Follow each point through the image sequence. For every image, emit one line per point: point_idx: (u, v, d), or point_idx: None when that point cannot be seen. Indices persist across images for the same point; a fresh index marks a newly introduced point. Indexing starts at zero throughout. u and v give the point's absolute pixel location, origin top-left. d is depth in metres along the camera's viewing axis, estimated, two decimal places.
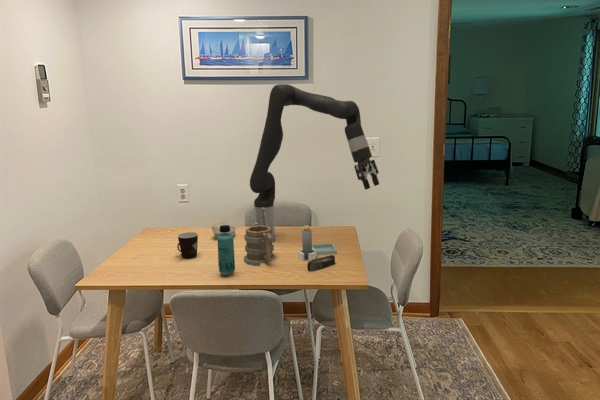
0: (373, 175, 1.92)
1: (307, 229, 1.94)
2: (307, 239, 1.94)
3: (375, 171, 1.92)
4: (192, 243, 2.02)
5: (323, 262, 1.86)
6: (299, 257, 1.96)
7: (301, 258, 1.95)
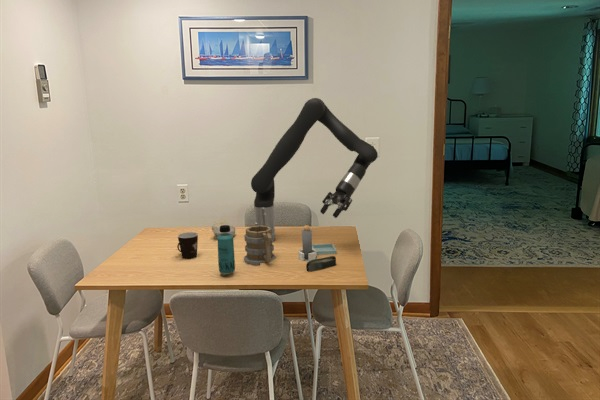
0: (327, 205, 2.05)
1: (307, 229, 1.94)
2: (307, 239, 1.94)
3: (329, 204, 2.06)
4: (192, 243, 2.02)
5: (323, 263, 1.85)
6: (299, 257, 1.96)
7: (301, 258, 1.95)
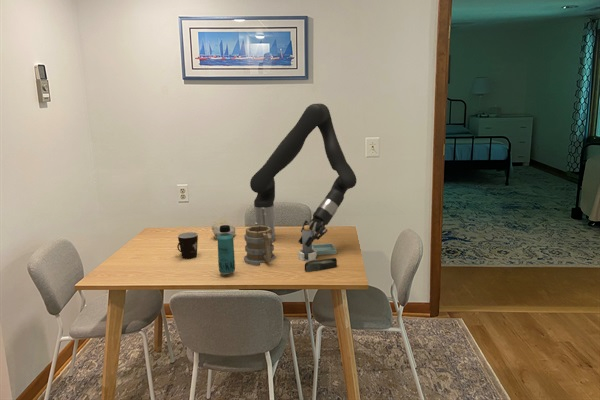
0: None
1: (307, 229, 1.94)
2: (307, 239, 1.94)
3: None
4: (192, 243, 2.02)
5: (322, 264, 1.84)
6: (299, 257, 1.96)
7: (301, 258, 1.95)
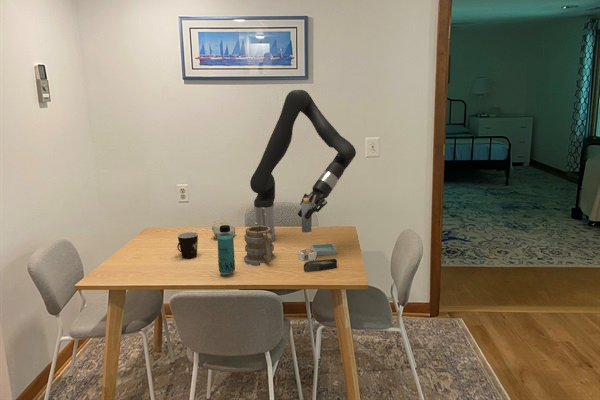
0: None
1: (306, 201, 1.92)
2: None
3: None
4: (192, 243, 2.02)
5: (321, 265, 1.83)
6: (299, 257, 1.96)
7: (301, 258, 1.95)
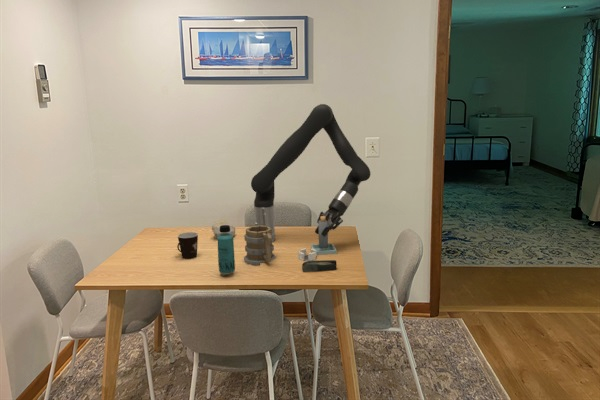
0: None
1: (323, 219, 2.02)
2: None
3: None
4: (192, 243, 2.02)
5: (319, 265, 1.82)
6: (299, 257, 1.96)
7: (301, 258, 1.95)
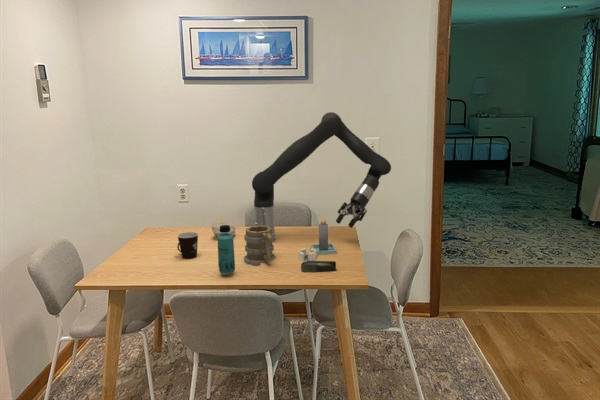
0: (342, 215, 2.15)
1: (323, 223, 2.03)
2: (324, 232, 2.03)
3: (344, 214, 2.17)
4: (192, 243, 2.02)
5: (318, 266, 1.82)
6: (299, 257, 1.96)
7: (301, 258, 1.95)
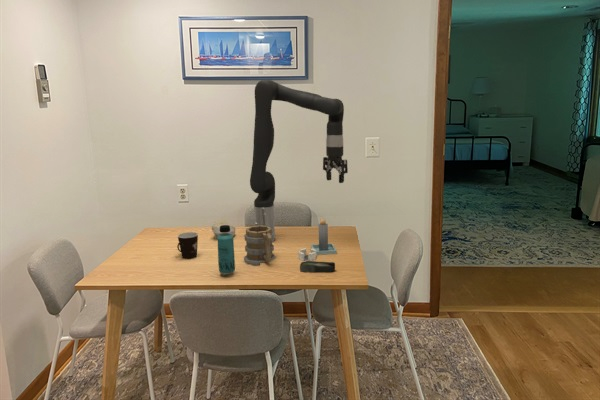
0: (329, 171, 2.12)
1: (323, 223, 2.03)
2: (324, 232, 2.03)
3: (330, 167, 2.13)
4: (192, 243, 2.02)
5: (316, 266, 1.81)
6: (299, 257, 1.96)
7: (301, 258, 1.95)
